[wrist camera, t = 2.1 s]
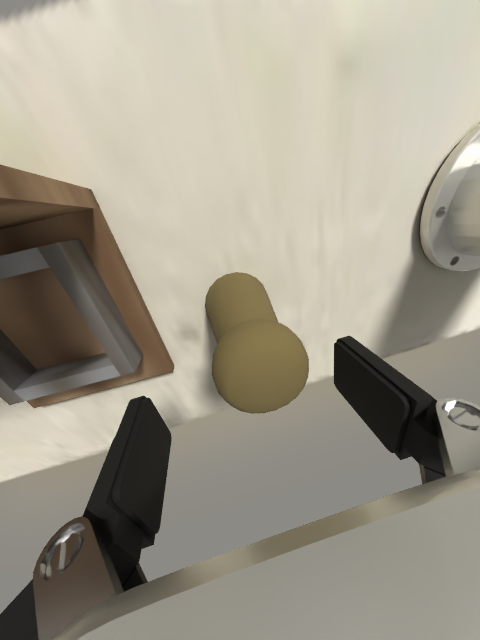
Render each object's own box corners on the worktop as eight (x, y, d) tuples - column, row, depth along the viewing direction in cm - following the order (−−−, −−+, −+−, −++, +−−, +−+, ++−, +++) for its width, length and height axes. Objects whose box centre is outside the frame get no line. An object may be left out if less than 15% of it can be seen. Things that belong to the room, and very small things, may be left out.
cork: (266, 328, 21) (318, 422, 11) (207, 333, 20) (209, 439, 10) (269, 270, 18) (340, 328, 8) (202, 274, 17) (196, 341, 8)
